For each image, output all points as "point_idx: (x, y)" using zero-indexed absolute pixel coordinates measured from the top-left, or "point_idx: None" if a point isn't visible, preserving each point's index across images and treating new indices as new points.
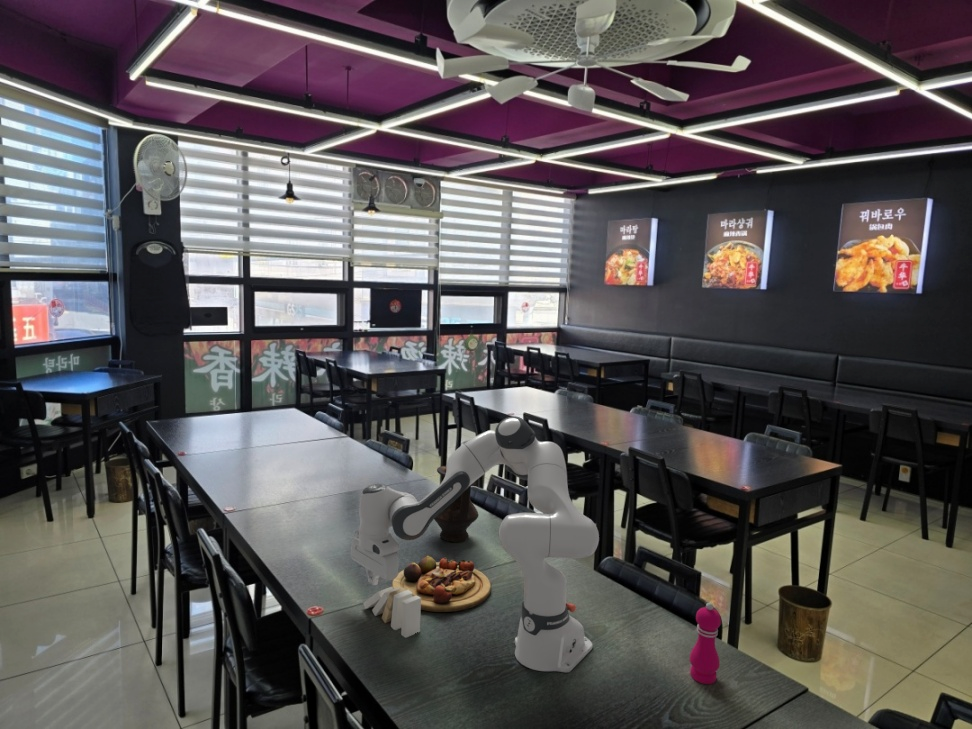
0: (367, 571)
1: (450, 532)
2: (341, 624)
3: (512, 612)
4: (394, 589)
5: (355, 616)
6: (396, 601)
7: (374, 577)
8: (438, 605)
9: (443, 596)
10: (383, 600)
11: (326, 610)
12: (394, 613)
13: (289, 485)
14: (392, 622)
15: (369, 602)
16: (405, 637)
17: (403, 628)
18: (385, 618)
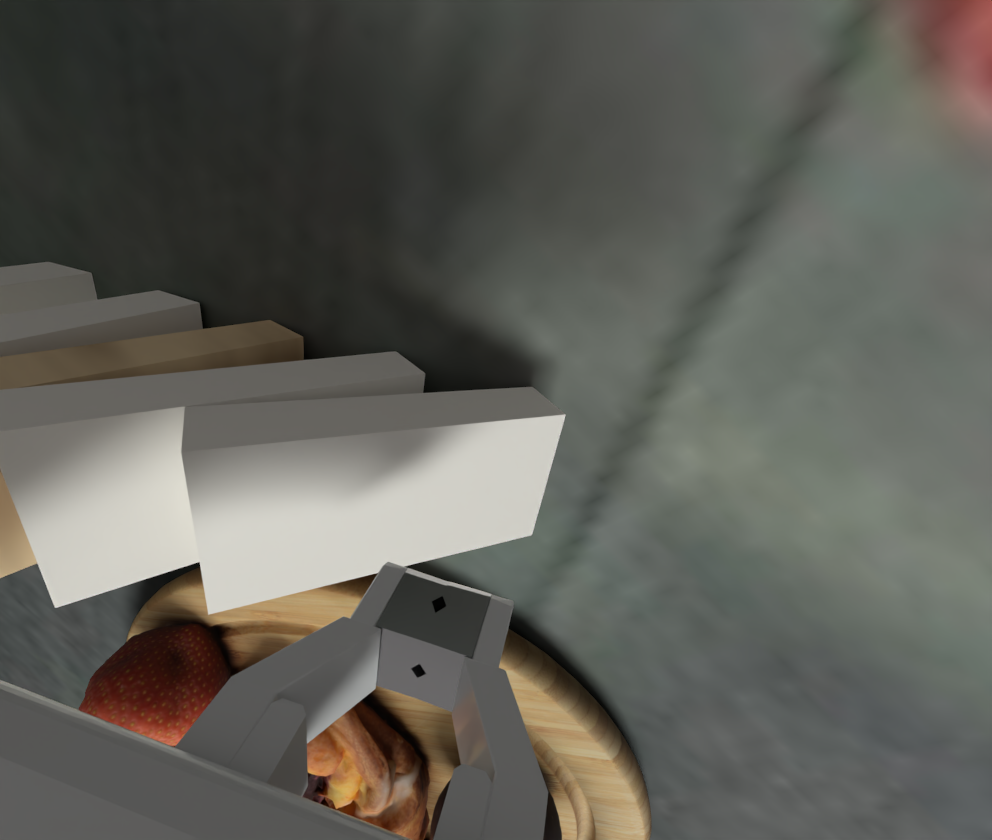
0: (491, 765)
1: None
2: (511, 12)
3: (62, 682)
4: (33, 550)
5: (515, 243)
6: None
7: (282, 655)
8: (167, 608)
9: (103, 666)
10: (131, 389)
11: (892, 108)
12: (23, 322)
13: None
14: (143, 307)
15: (450, 406)
16: (45, 262)
17: (4, 277)
18: (238, 329)
